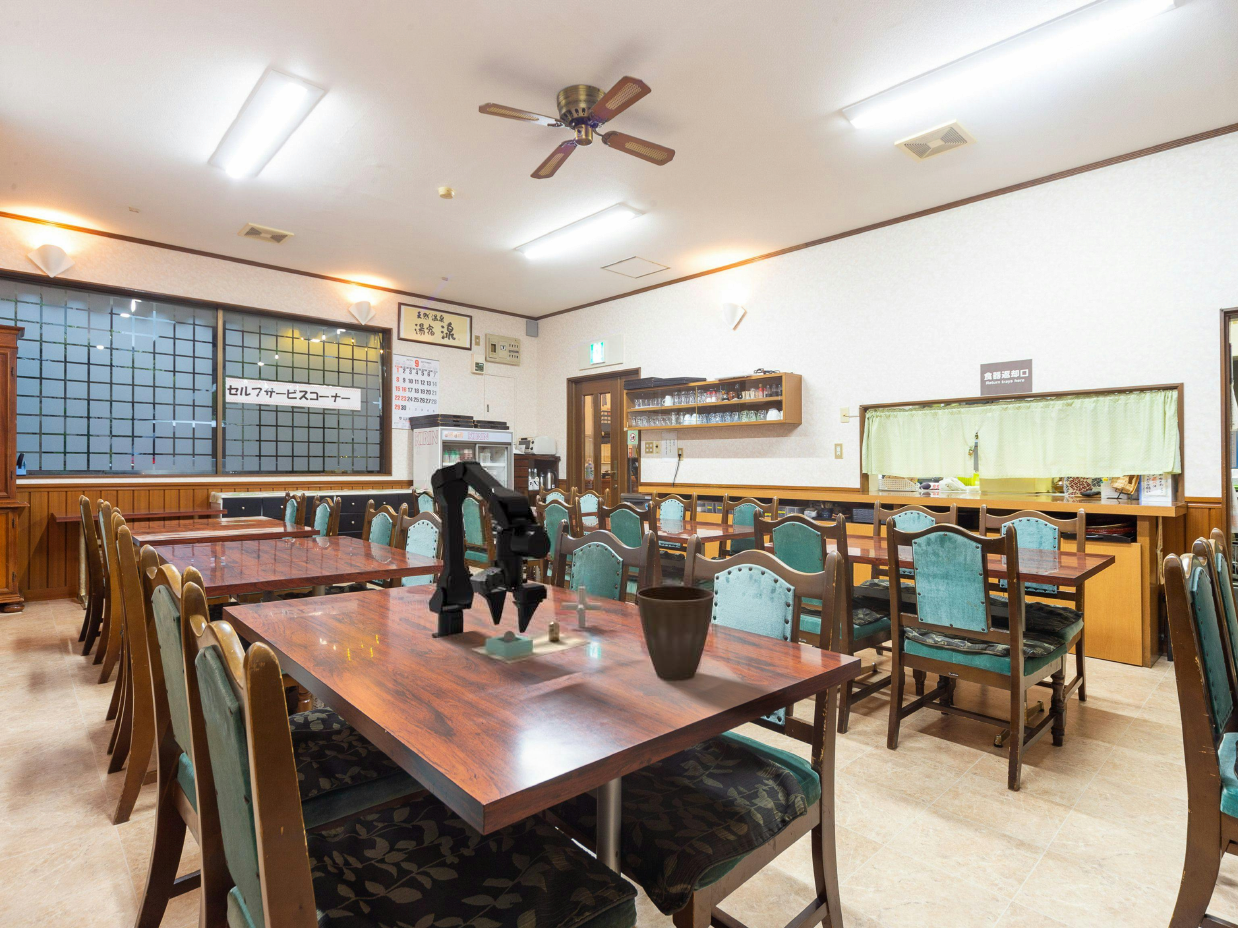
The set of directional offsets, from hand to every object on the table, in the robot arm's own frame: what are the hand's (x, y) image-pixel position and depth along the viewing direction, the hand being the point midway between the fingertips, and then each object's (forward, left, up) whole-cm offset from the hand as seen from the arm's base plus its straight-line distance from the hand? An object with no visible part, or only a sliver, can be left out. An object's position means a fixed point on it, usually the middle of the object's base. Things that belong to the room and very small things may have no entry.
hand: (509, 628), depth 135 cm
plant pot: (+31, +17, -6) cm, 36 cm away
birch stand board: (0, +6, -6) cm, 9 cm away
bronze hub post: (0, +12, -5) cm, 13 cm away
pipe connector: (-10, +29, -6) cm, 31 cm away
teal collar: (0, 0, -5) cm, 5 cm away
